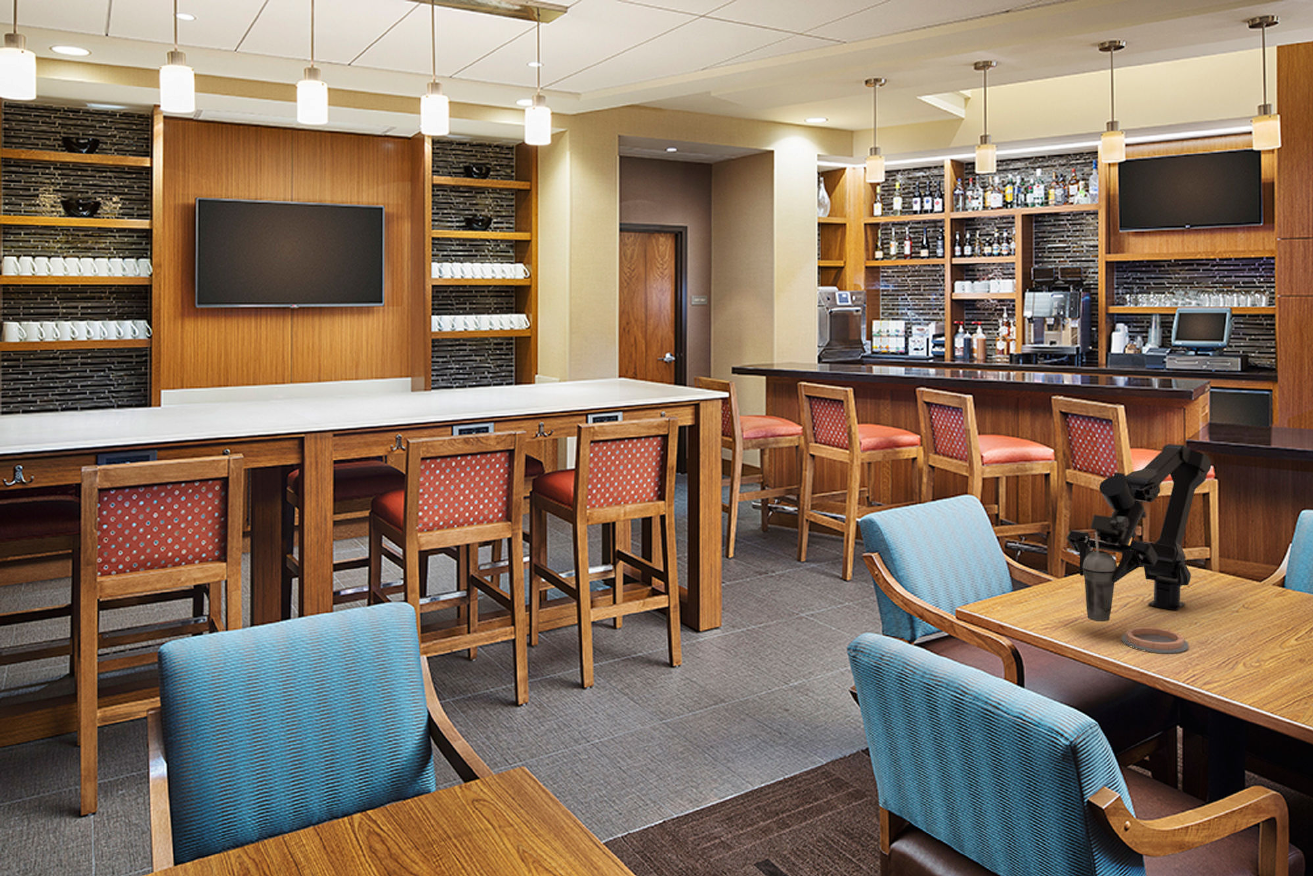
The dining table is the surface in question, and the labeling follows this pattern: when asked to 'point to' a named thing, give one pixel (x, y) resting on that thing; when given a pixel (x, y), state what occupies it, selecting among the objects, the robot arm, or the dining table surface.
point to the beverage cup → (1099, 583)
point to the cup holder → (1155, 640)
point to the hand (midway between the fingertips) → (1096, 578)
